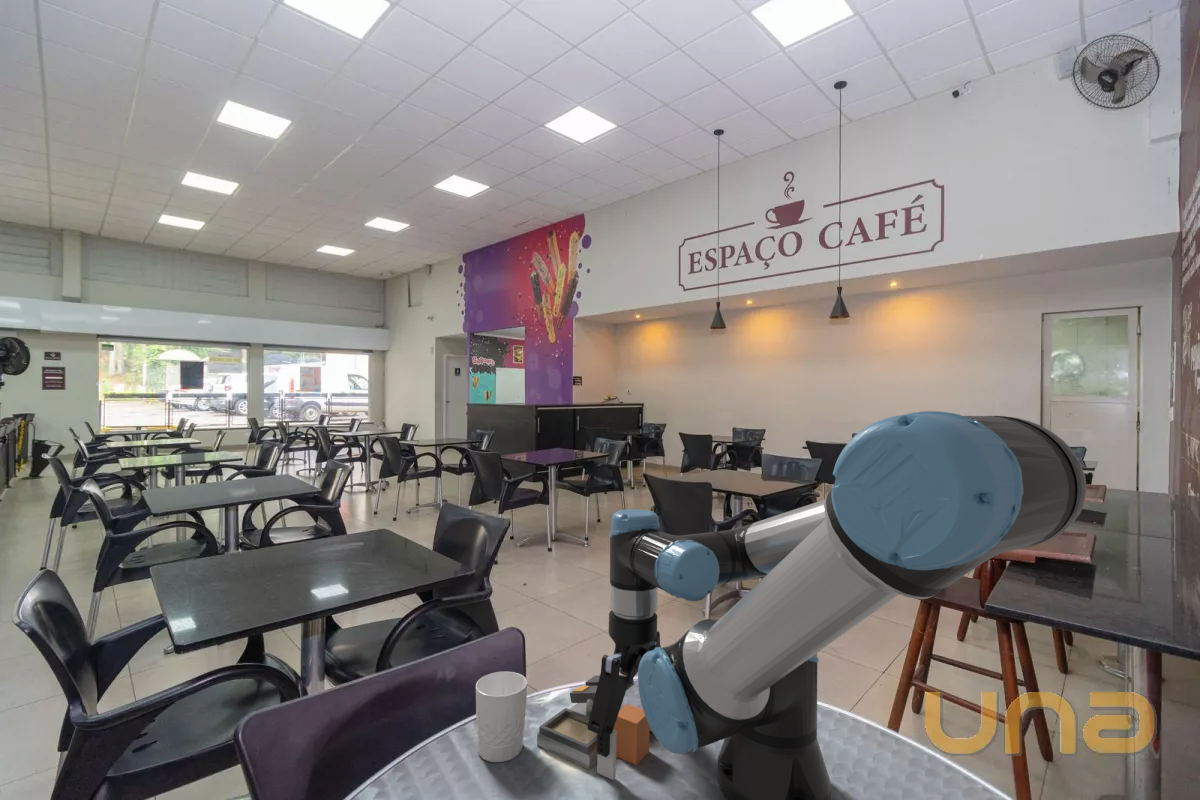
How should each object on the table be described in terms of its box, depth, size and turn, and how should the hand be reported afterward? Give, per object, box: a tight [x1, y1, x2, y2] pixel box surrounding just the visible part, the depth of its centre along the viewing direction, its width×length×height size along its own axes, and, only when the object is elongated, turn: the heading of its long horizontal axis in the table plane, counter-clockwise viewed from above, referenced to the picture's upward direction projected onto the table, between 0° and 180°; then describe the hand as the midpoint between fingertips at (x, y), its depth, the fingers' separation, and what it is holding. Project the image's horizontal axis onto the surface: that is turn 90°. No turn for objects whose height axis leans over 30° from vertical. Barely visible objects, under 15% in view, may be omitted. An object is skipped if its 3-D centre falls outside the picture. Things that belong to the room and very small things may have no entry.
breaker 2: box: [585, 674, 635, 691], centre depth 91 cm, size 8×3×2 cm, turn 57°
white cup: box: [475, 671, 528, 763], centre depth 82 cm, size 8×8×10 cm
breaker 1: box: [569, 685, 597, 707], centre depth 88 cm, size 8×3×2 cm, turn 57°
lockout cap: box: [614, 703, 650, 766], centre depth 82 cm, size 4×4×6 cm
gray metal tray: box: [536, 703, 627, 771], centre depth 87 cm, size 10×15×4 cm, turn 146°
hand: (630, 751), depth 82 cm, fingers open, 13 cm apart
